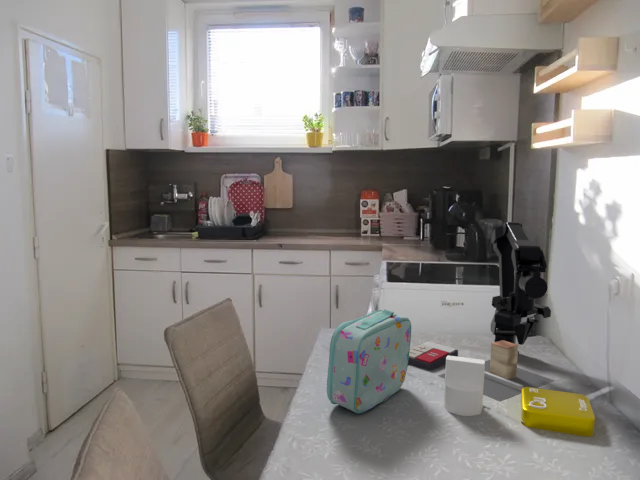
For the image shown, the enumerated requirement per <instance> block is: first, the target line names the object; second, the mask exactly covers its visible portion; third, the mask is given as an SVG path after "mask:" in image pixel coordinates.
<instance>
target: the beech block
mask: <svg viewBox="0 0 640 480" xmlns="http://www.w3.org/2000/svg"><path fill="white" fill-rule="evenodd" d="M518 351H519V344H518V343H517V344H516V343H515V344H514V343H510V342H507V341H504V340H501V341H498V342H492V343H491V346H490V359H489V360H490V373H491V374H494V375H497V376H499V377H502V378H505V379H507V380H508V379H511V378H514V377H516V372H517V368H518V359H519V358H518V357H519V355H518V354H519V353H518Z"/></svg>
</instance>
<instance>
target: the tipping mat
mask: <svg viewBox="0 0 640 480" xmlns="http://www.w3.org/2000/svg"><path fill="white" fill-rule="evenodd" d="M437 376H438V377H439V378H441V379H442V378H443V379H444V380H445V373H442V374H439V375H437ZM555 381H556V380H554V379H552V378H549V377H546V376H543V375H540V374H537V373H535V372H531V371H528V370H525V369H523V368H519V367H517V372H516V377H514V378H511V379H508V380H507V379H505V378H502V377H499V376H497V375H494V374H491V373H490V359H488V360H485V371H484V387H483V396H486V397H488V398H490V399H494V400H495V401H498V402H502V401H504V400H508V399H510V398H513V397H515V396H518V395H521V391H522V388H524V387H532V388H540V387H542V386H544V385H547V384H549V383H552V382H555Z"/></svg>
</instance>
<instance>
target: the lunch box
mask: <svg viewBox="0 0 640 480" xmlns="http://www.w3.org/2000/svg"><path fill="white" fill-rule="evenodd" d="M411 339H412V322H411V320H410V318H408V317H406V316H403V315H401V314H400V315H399V314H396V313H394V311H391V310H388V309H377V310H375V311H372V312H370V313H368V314H366V315H362V316H361V317H358V318H355V319H352V320H348V321H344V322H342V323H340V324H339V325H337V327H336V329H335V330H334V332H333V334H332V336H331V338H330V342H329V343H330V344H329V354H328V356H329V357H328V366H327V367H328V368H327V369H328V370H327V379H326V395H327V398H328V400H329V402H330V403H331V404H332V405H338V406H340V407H343V408H346V409H347V410H349V411H351V412H353V413H355V414H363V413H366V412H367V411H369V410H370V409H372V408H374V407H376V405H379V404H380V403H382V402H386V401H388V399H390V397H392V396H393V395H394V394H396V393H398V392H399V391H400V390H401V387H402V386H403V384H404V383H405V379H406V374H407V371H408V367H409V366H408V360H409V352H410V349H411V342H412V341H411Z"/></svg>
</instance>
